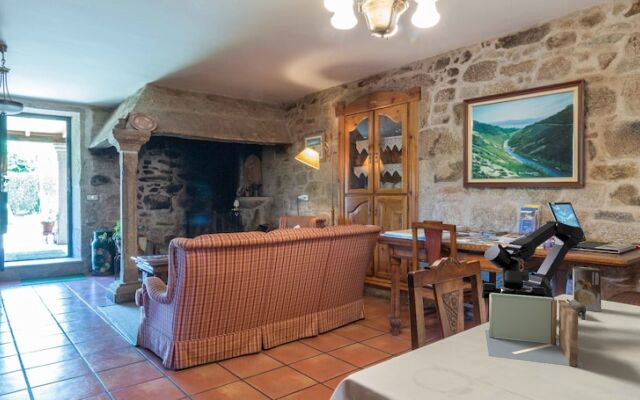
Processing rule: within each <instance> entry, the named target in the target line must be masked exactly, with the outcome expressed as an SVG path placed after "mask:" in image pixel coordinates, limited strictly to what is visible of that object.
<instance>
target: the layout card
mask: <svg viewBox="0 0 640 400" xmlns="http://www.w3.org/2000/svg"><path fill="white" fill-rule="evenodd" d="M484 333H485V340H486V344H487V345H486V347H487V351H488V352H487V353H488V357H495V358H502V359H510V360H520V361H526V362H533V363H535V362H536V363H541V364H549V365H551V364H552V365H557V366H558V365H559V366H566V367H571V366H570V365H569V362H568V360H567V359H566V357H565V355H564V354H563V352H562V351H561V349H560V347H559V337H557V342H556V344H551V343H545V342H536V341H527V340H518V339H509V338H500V337H494V338H491V337H489V330H487V329H485V330H484ZM577 368H581V369H583V368H584V366H583V365H582V363H581V362H580V360H579V359H578V367H577ZM584 369H585V368H584Z"/></svg>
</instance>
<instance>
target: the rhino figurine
mask: <svg viewBox="0 0 640 400" xmlns="http://www.w3.org/2000/svg"><path fill="white" fill-rule="evenodd" d="M566 302H567V303H568V304H569V305H570V306H571V307H572V308H573V309H574V310H575V311H576V312H578V317H582V318H581V321H587V319H586V314H587V310H586V307H585V306H584V305H583V304H581V303H579V302H578V301H576V300H575V299H573V298H572V299H571V300H569V299H568V298H567V299H566Z"/></svg>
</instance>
